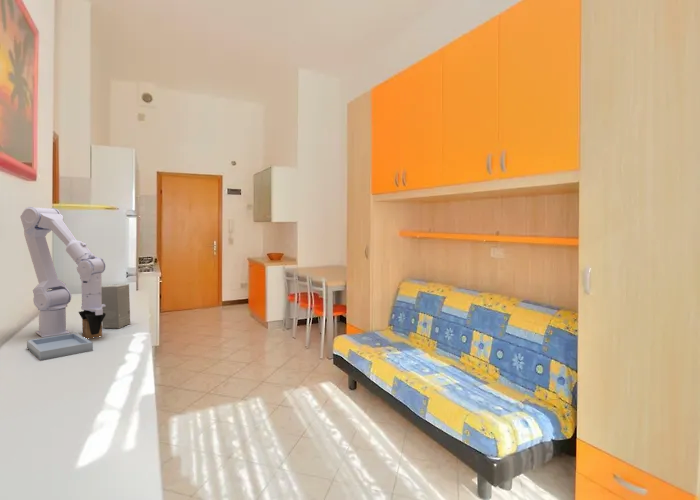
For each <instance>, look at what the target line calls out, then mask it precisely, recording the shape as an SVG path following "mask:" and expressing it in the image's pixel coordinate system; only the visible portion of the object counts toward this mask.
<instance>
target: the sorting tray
mask: <svg viewBox="0 0 700 500" xmlns="http://www.w3.org/2000/svg"><path fill="white" fill-rule="evenodd" d="M27 348H28V349H29V350H30V351H31V352H30V351H29V350H28V349H27ZM26 349H27V350H28V351H29V352H30V353H32V354H33V355H34V356H35V357H36V358H37V359H38V360H39V361H44V360H50V359H56V358H60V357H61V358H62V357H65V356H72V355H76V354H81V353H87V352H92V351H94V343H93V341H91V340H90V339H86V338H84V337H83V335H81V334H80V333H77V332H73V333H71V332H70V333H69V334H62V335H56V336H50V337H40V338H34V339H29V340H26Z"/></svg>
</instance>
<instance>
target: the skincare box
mask: <svg viewBox="0 0 700 500" xmlns="http://www.w3.org/2000/svg"><path fill="white" fill-rule="evenodd" d="M102 304H105V305H106V307H102V309H103V313H105V314H106V315H105V317H104V319H103V321H102V329H121V328H124V327H125V326H127V325H130V324H131V306H130V284H129V283H128V284H126V283H125V284H124V283H123V284H119V283H118V284H110V285H108V284H107V285H103V286H102Z"/></svg>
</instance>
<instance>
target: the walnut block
mask: <svg viewBox="0 0 700 500" xmlns="http://www.w3.org/2000/svg"><path fill="white" fill-rule="evenodd" d="M81 322H82V323H81V324H82V336H83V337H85V338H87V339H88V338H92V339H94V338H93V337H98V338H100V337H99V336H102V337H103V328H102V323H101V327H100V331H99V334H94V335H92V334H91V332H90V326H89V322H88V320H87V319H83V320H82V319H81ZM88 340H89V339H88Z"/></svg>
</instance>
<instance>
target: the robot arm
mask: <svg viewBox="0 0 700 500" xmlns="http://www.w3.org/2000/svg"><path fill="white" fill-rule="evenodd" d="M20 219H21V224H22V227H23V230H24V231H23V233H24V238H25V241H26V245H27V249H28V251H29V255H30V258H31V262H32V265H33V268H34V272H35V276H36V278H37V282H38V284H37V285H36V286H35V287H33V289H32V292H33V305H34V306H35V308H36V309H37V311H39V313H38V330H35V333H36V334H37V335H39V336H40V338H45V337H52V336H58V335H64V334H71V332H70V330H68V329H67V308H68V304H69V303H70V302H71V300H72V293H71V291H70V290H69V289H68V287H67V285H66V283H64V282H63V281H62V280H60V279H59V278H58V275H57V271H56V267H55V264H54V262H53V261H54V260H53V258H52V254H51V251H50V249H49V245H48V242H47V238H46V236H47V235H48V233H50V232H51V231H52V233H54V235H55V236H56V237H58V238H59V240H60V241H61V242H62V243H63V244H65V252H66V253H67V254H68V256H70V258H71V259H72V260H73V261H74V263H75V264H76V265H77V266H76V271H77V273H78V274H79V279H80V281H81V307H80V309H81V310H80V311H78V315H79V316H80V318H81V321H82V320H83V319H87V320H88V322H89V326H90V332H91V334H92V335H94V334H99V331H100V327H101V323H102V321H103V319H104V317H105V315H106V314H105V313H103V309H102V307H106V305H105V304H102V285H103V283H102V274H103V273H104V272H105V270H106V262H105V261H104V259H103V258H102V257H98V256H97V255H95V254H94V253H93V252H92V251H91V250H90V249H89V247H88V246H87V243H86V242H85V241H84V242H83V241H82V240H78V239H76V237H75V236H74V234H73V233H72V231H71V230H70V228H69V227H68V226H67V224H66V223H65V222H64V215H62V214H61V212H60V210H59V209H57V208H55V207H54V208H53V207H51V208H49V207H34V206H28V207H25V209H24V210H23V212H22V213H21V215H20Z"/></svg>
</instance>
